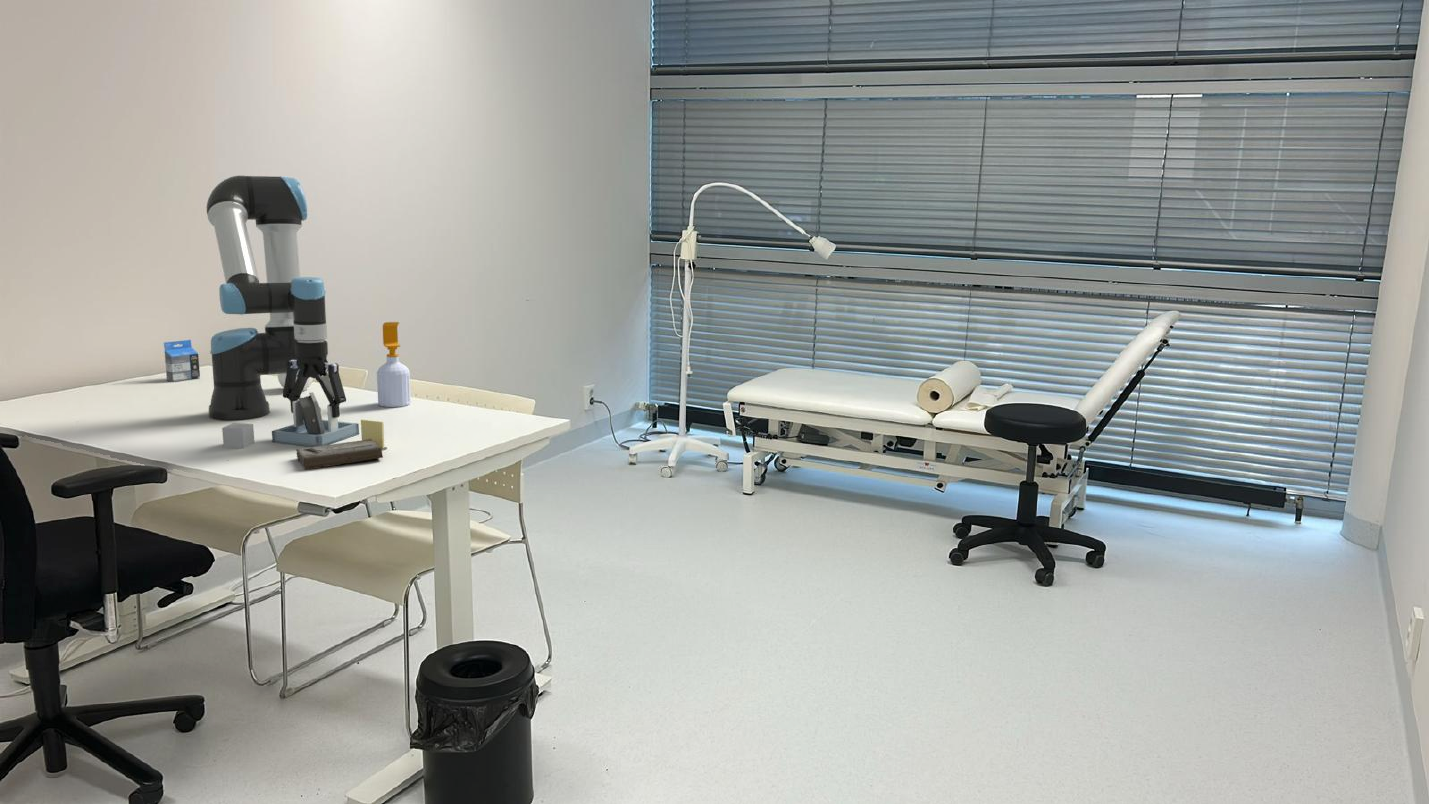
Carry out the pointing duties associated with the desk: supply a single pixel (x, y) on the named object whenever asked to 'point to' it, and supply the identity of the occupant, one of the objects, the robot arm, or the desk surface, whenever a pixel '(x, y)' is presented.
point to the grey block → (238, 435)
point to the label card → (373, 432)
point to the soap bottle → (393, 373)
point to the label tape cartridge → (181, 361)
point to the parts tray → (304, 439)
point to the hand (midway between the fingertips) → (316, 427)
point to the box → (338, 454)
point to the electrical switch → (312, 415)
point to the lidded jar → (283, 376)
